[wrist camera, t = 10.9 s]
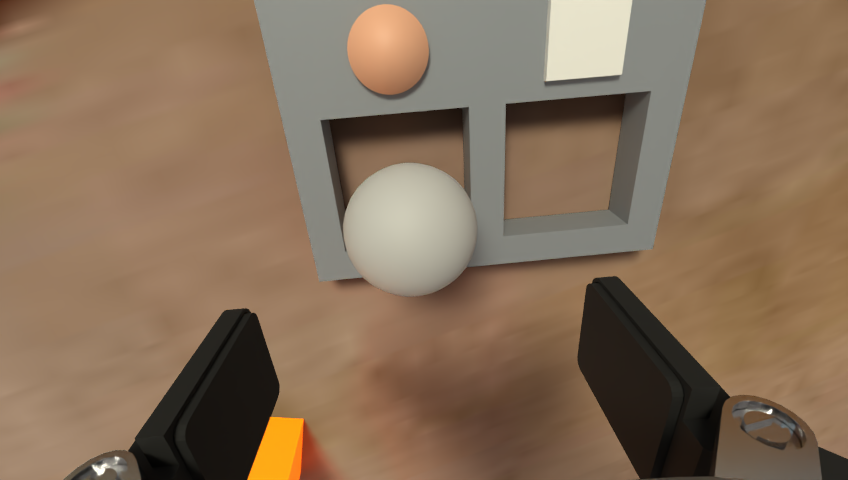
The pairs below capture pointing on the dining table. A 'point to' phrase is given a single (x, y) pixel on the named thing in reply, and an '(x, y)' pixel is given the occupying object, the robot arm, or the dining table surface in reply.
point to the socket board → (484, 102)
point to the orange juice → (279, 451)
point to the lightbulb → (410, 229)
